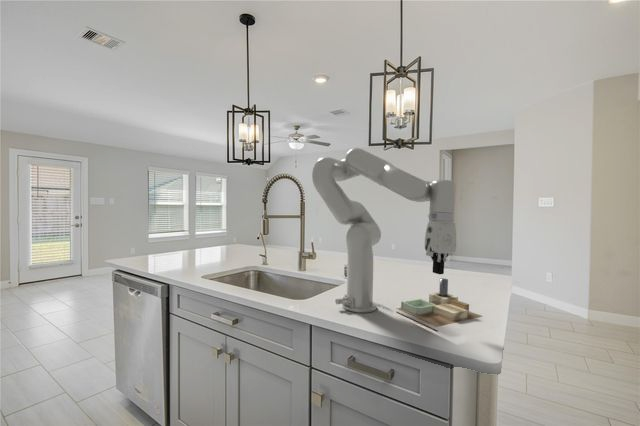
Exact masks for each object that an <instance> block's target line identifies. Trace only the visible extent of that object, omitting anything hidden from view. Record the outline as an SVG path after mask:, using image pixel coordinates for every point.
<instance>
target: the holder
mask: <svg viewBox="0 0 640 426" xmlns="http://www.w3.org/2000/svg"><path fill="white" fill-rule="evenodd" d="M453 299H454V300H457V301H459V296H456V295H453V294H451V293H450V294H449V293H448V297H441V296H439V292H434V293H429V294H428V302H430V303H433V304H436V305H441V304H447V303H448V304H450V300H453Z"/></svg>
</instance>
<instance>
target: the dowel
mask: <svg viewBox="0 0 640 426" xmlns="http://www.w3.org/2000/svg"><path fill="white" fill-rule="evenodd" d="M448 288H449V280H448V278H444V277H443V278H439V292H438V293H439V296H441V297H448V294H449V289H448Z"/></svg>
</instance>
